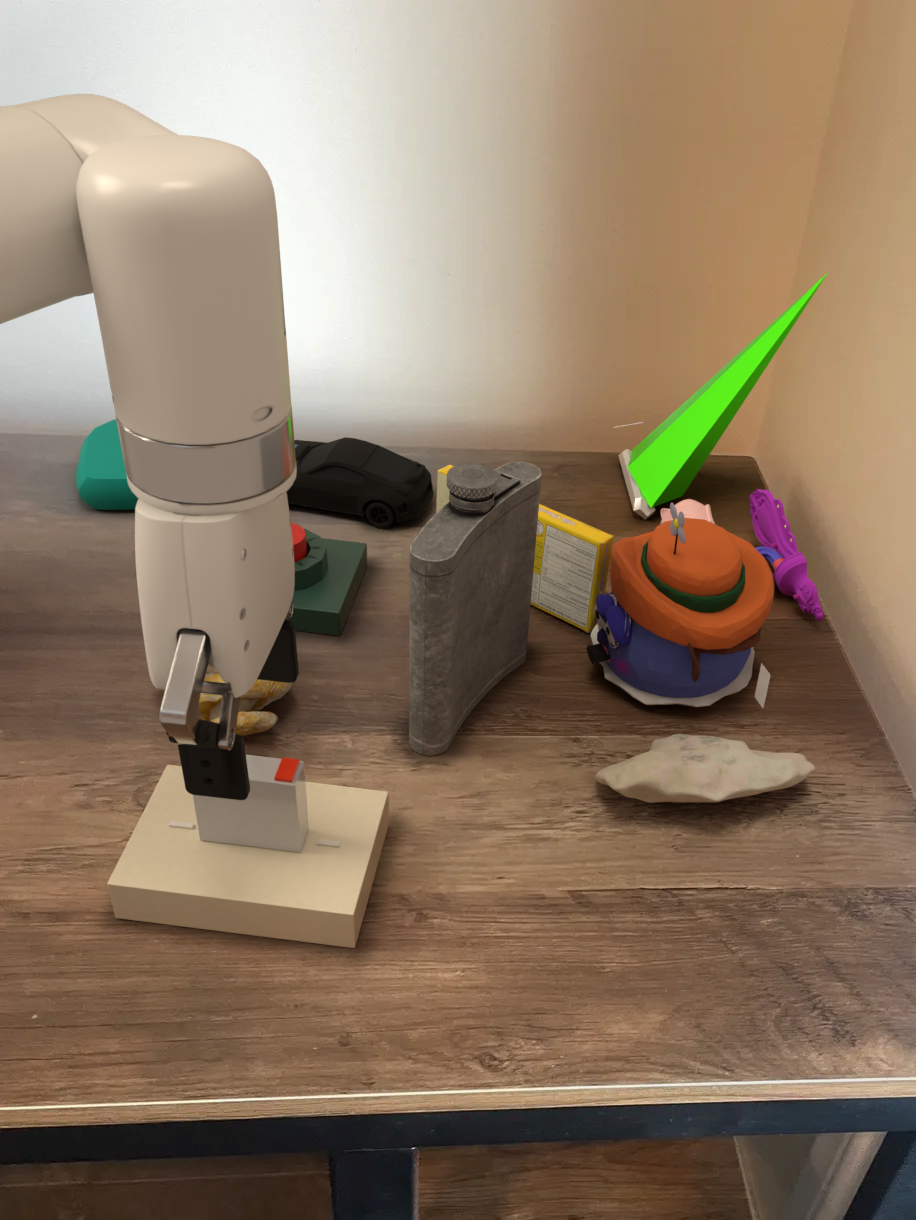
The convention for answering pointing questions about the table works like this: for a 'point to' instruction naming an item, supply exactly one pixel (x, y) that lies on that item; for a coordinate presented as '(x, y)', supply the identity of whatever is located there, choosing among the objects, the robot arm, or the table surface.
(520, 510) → the flask
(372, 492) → the toy car
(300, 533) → the button
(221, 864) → the block
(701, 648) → the toy
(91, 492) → the spray bottle
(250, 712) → the cream yellow lumpy piece
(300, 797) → the tap handle
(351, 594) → the button box
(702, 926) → the table surface
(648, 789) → the stone tool
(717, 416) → the paper cone
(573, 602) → the candy box
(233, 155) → the robot arm
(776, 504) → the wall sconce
